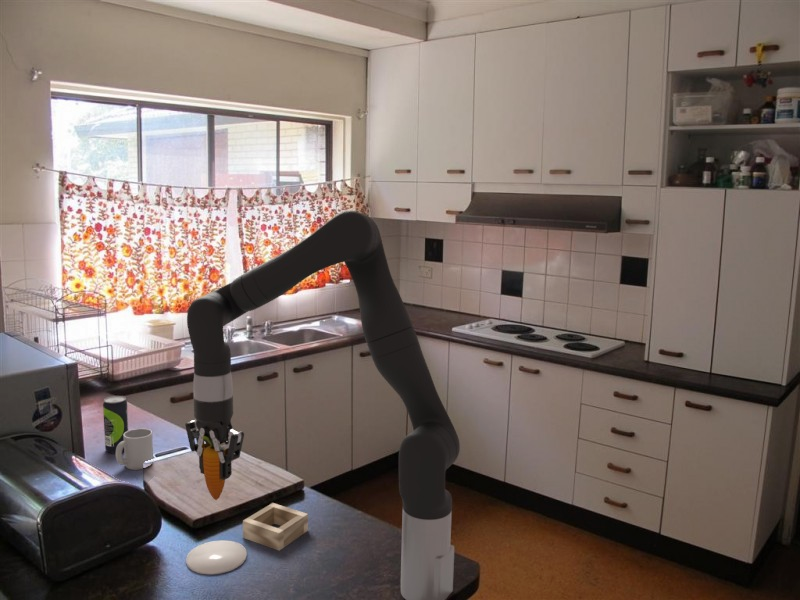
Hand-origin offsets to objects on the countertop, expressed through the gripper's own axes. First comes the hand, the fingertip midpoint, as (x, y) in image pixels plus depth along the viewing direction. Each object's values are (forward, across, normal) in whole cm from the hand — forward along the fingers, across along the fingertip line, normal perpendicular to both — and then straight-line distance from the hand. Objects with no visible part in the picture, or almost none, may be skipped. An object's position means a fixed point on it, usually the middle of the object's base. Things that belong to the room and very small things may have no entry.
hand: (215, 474), depth 141 cm
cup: (+18, +51, -22) cm, 59 cm away
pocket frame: (+18, -4, -14) cm, 23 cm away
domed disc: (+18, 0, 0) cm, 18 cm away
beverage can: (+18, +64, -27) cm, 72 cm away
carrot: (+6, 0, 0) cm, 6 cm away
